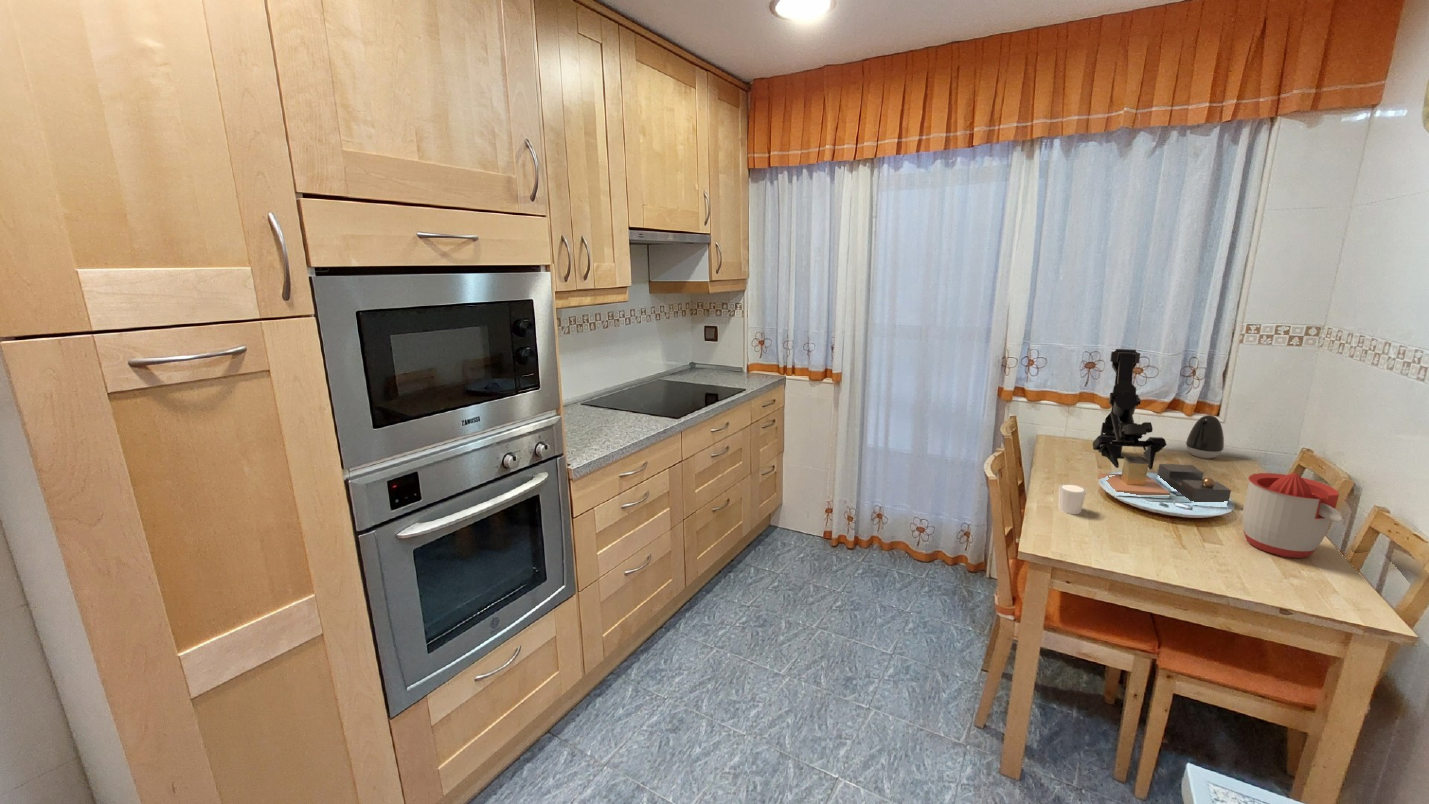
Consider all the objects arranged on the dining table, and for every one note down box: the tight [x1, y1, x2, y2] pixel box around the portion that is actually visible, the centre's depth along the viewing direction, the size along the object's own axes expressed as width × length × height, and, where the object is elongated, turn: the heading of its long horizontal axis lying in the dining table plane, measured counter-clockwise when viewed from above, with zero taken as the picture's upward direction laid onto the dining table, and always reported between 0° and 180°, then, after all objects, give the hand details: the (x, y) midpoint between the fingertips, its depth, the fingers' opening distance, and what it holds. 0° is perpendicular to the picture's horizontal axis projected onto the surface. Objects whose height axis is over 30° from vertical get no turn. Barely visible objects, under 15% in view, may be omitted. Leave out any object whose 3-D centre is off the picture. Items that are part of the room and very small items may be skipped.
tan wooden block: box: [1121, 455, 1149, 486], centre depth 177 cm, size 4×5×8 cm
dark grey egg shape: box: [1185, 415, 1225, 460], centre depth 201 cm, size 10×10×15 cm
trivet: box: [1097, 472, 1171, 495], centre depth 178 cm, size 14×14×2 cm
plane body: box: [1157, 463, 1232, 503], centre depth 173 cm, size 20×9×8 cm, turn 166°
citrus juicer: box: [1242, 472, 1343, 559], centre depth 139 cm, size 16×17×20 cm
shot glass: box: [1058, 483, 1087, 515], centre depth 165 cm, size 7×7×7 cm
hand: (1134, 468), depth 177 cm, fingers open, 9 cm apart
